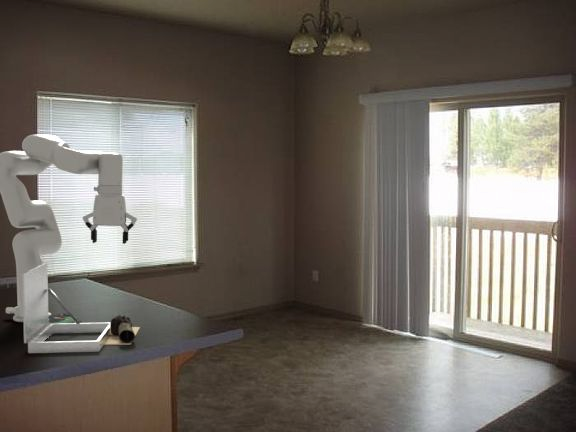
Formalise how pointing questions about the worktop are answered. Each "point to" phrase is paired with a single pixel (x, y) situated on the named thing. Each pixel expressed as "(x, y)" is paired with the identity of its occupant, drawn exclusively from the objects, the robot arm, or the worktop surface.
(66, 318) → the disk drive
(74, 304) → the worktop surface
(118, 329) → the dark piece
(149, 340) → the worktop surface
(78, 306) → the worktop surface
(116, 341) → the pad
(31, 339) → the case
